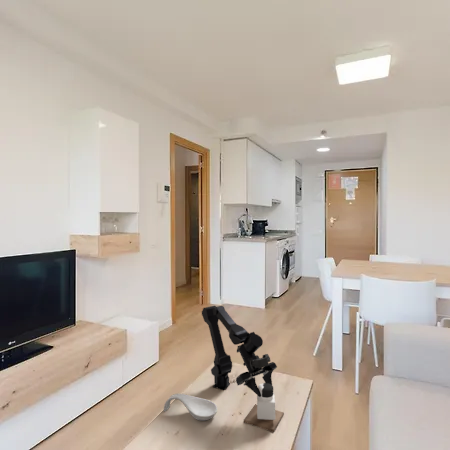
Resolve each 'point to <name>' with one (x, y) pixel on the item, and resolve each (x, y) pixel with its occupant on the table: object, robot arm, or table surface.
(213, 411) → the spoon rest
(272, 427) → the walnut board
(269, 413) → the medicine bottle
